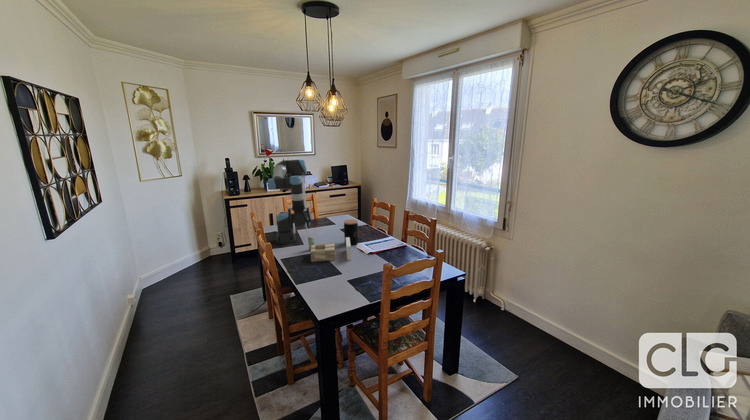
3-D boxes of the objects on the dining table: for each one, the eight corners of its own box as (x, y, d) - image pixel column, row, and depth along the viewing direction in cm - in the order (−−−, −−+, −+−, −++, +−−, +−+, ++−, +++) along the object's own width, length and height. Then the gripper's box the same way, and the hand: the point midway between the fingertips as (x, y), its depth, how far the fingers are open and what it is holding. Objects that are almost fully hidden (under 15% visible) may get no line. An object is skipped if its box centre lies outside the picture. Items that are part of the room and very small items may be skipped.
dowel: (309, 249, 217) (308, 236, 215) (314, 248, 218) (313, 236, 215) (309, 251, 214) (307, 238, 211) (314, 251, 214) (313, 238, 212)
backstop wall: (346, 250, 214) (345, 237, 212) (350, 249, 215) (349, 237, 212) (347, 260, 197) (346, 246, 194) (351, 260, 197) (350, 246, 195)
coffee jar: (356, 246, 221) (355, 223, 216) (343, 245, 223) (341, 223, 219) (360, 241, 231) (359, 219, 227) (347, 240, 233) (346, 219, 229)
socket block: (312, 253, 209) (311, 244, 207) (335, 251, 211) (334, 242, 209) (311, 261, 196) (310, 252, 194) (335, 259, 198) (334, 250, 196)
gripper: (280, 201, 186) (284, 235, 192) (313, 200, 189) (315, 233, 195) (282, 199, 193) (286, 231, 199) (313, 197, 196) (316, 229, 202)
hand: (300, 232), depth 197 cm, fingers open, 8 cm apart
